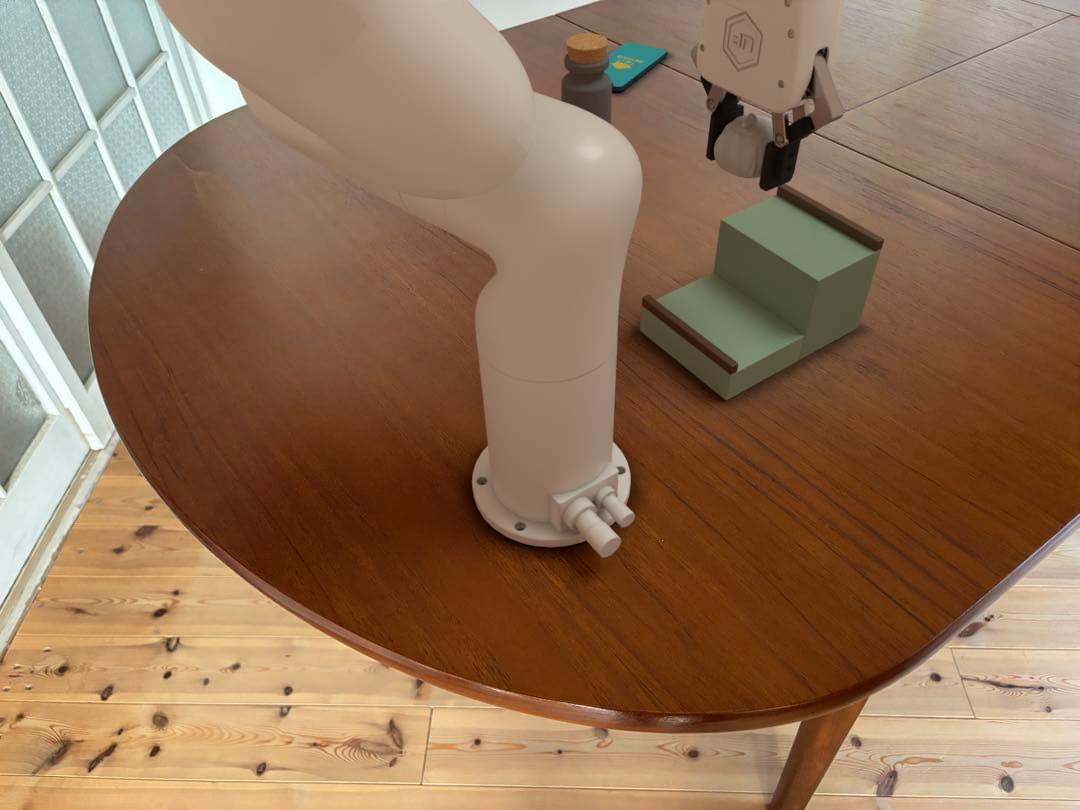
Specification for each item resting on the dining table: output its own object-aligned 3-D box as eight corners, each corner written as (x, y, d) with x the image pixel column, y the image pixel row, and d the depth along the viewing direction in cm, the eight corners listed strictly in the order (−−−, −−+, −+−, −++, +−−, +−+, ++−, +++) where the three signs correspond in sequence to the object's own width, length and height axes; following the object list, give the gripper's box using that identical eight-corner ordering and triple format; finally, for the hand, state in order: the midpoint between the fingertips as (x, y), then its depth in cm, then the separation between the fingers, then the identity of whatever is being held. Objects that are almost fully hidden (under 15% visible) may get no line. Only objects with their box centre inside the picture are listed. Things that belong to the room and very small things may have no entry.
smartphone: (670, 49, 128) (621, 86, 119) (669, 54, 128) (621, 92, 119) (626, 40, 131) (576, 76, 122) (626, 46, 131) (576, 82, 122)
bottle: (553, 169, 105) (551, 46, 94) (574, 148, 109) (575, 27, 98) (597, 180, 103) (599, 55, 92) (617, 158, 106) (621, 35, 96)
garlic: (733, 195, 69) (742, 134, 65) (699, 165, 72) (706, 105, 69) (797, 179, 70) (809, 119, 67) (760, 150, 74) (770, 91, 70)
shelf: (858, 328, 82) (884, 239, 75) (726, 400, 75) (741, 310, 68) (767, 268, 89) (783, 182, 82) (639, 330, 82) (645, 242, 75)
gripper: (662, -90, 62) (646, 143, 75) (847, -29, 52) (792, 229, 64) (738, -107, 65) (710, 120, 78) (927, -53, 55) (860, 199, 67)
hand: (748, 167), depth 71 cm, fingers closed on garlic, 5 cm apart
